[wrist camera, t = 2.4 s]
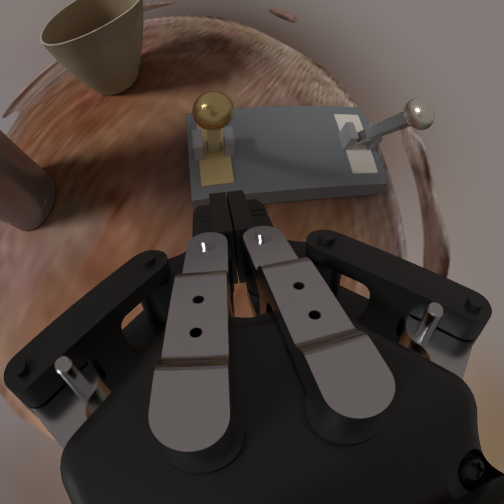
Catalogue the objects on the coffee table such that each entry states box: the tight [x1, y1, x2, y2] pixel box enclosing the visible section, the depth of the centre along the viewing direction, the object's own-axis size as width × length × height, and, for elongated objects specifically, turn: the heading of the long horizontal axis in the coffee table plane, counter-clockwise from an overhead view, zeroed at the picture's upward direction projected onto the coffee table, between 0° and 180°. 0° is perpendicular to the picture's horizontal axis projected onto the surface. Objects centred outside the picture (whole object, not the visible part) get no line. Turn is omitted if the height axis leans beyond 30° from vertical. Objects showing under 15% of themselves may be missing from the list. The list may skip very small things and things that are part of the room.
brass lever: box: [192, 91, 234, 153], centre depth 25 cm, size 3×3×15 cm
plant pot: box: [40, 0, 143, 96], centre depth 31 cm, size 15×15×16 cm
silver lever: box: [355, 98, 435, 144], centre depth 27 cm, size 3×3×15 cm
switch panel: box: [186, 106, 388, 209], centre depth 34 cm, size 24×12×7 cm, turn 98°
